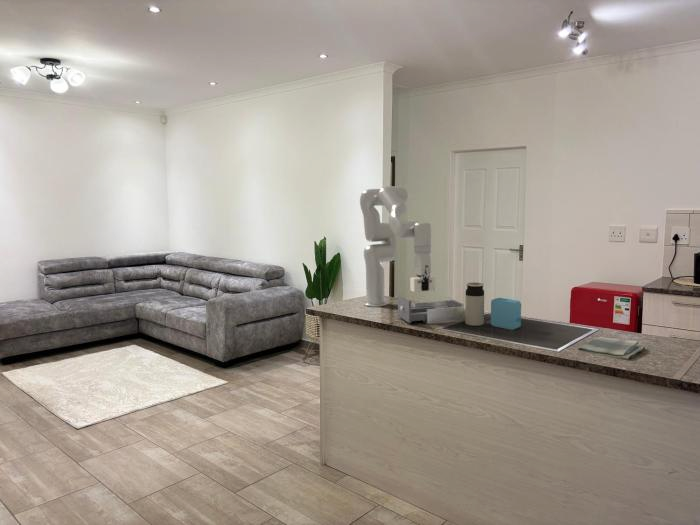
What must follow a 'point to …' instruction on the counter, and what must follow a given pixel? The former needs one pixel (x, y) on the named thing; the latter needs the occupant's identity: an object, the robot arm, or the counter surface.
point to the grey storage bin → (443, 311)
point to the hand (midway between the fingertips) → (422, 288)
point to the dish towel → (612, 348)
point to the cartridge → (417, 284)
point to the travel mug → (474, 304)
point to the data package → (506, 313)
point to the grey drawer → (411, 310)
